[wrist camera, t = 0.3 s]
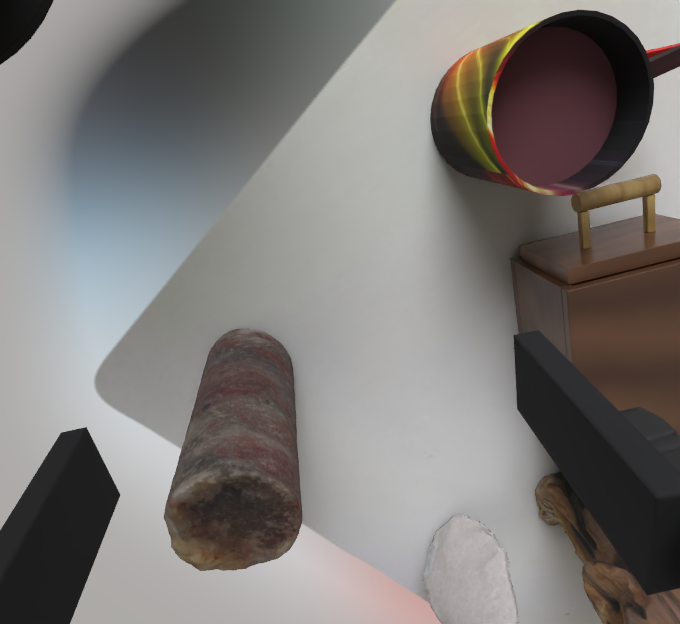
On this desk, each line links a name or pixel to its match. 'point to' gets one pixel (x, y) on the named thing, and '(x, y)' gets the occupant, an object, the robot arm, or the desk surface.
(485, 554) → the stone tool
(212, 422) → the candle
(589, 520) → the sculpture
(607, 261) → the dresser drawer
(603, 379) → the dresser
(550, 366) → the robot arm
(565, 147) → the mug
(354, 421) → the desk surface
